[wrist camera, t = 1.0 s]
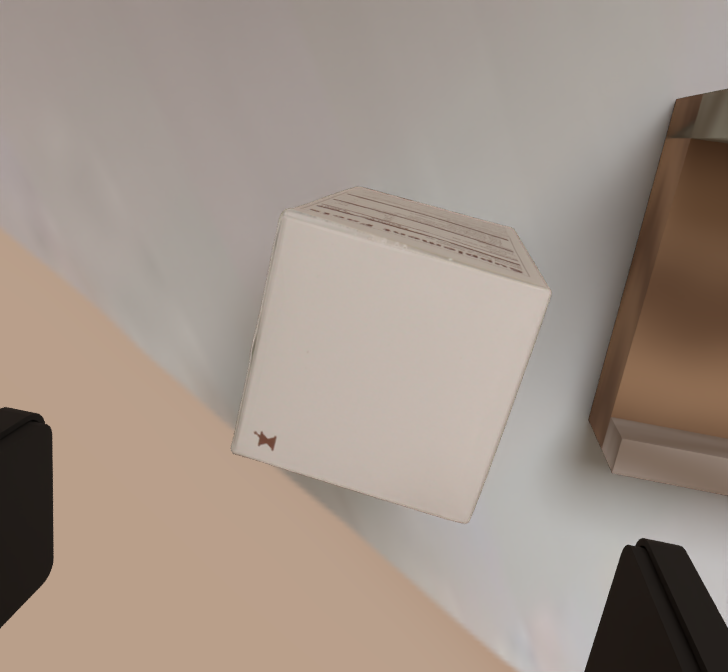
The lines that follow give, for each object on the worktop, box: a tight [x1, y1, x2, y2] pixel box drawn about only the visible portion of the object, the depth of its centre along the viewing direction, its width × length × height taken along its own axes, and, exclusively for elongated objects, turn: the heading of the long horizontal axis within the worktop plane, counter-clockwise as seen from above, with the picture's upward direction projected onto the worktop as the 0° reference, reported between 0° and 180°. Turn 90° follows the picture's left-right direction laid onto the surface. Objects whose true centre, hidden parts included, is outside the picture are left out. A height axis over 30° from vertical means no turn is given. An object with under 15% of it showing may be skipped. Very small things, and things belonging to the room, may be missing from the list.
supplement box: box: [231, 186, 552, 524], centre depth 23 cm, size 7×7×13 cm
